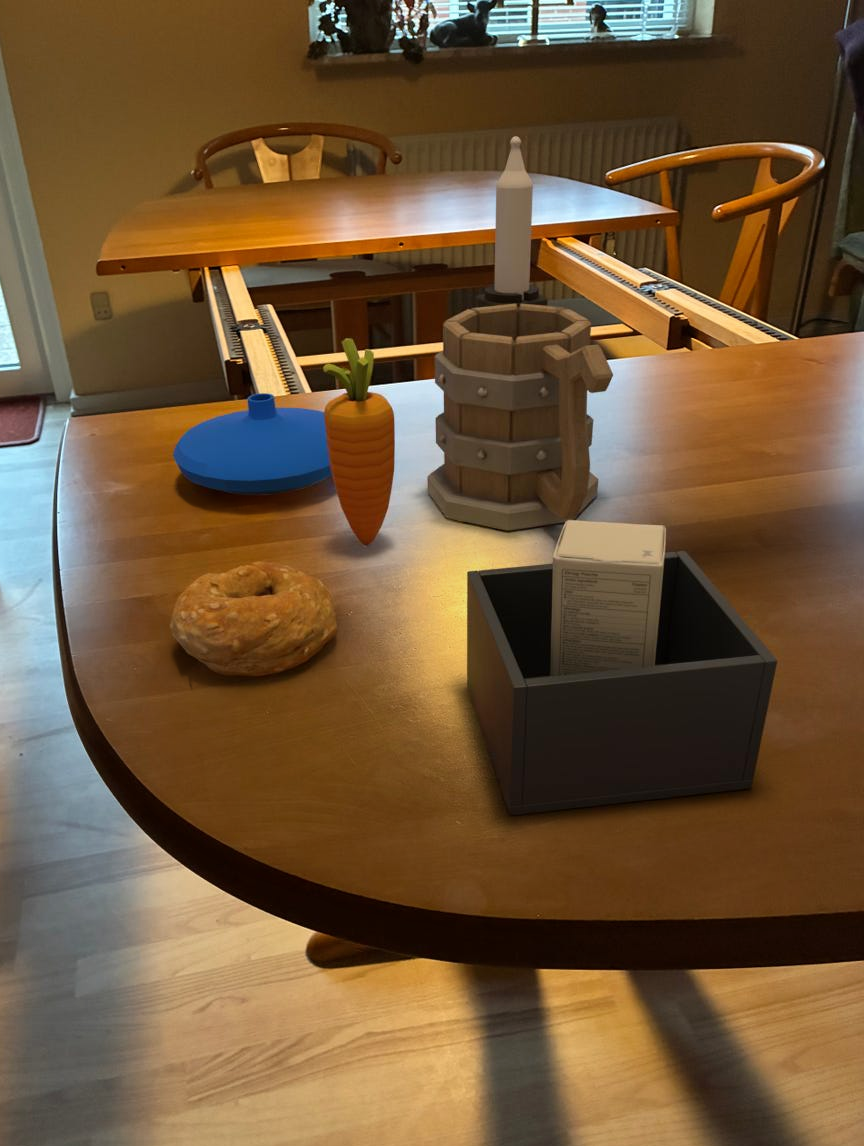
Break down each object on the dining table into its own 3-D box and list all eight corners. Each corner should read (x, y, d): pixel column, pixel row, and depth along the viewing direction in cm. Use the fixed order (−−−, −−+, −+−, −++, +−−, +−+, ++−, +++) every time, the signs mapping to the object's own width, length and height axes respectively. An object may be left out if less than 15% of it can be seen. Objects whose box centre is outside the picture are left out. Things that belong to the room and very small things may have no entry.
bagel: (376, 632, 62) (373, 566, 60) (239, 708, 56) (228, 637, 54) (278, 583, 69) (271, 521, 66) (144, 646, 62) (130, 580, 60)
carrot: (394, 562, 71) (384, 353, 63) (327, 559, 71) (309, 353, 64) (404, 532, 75) (397, 333, 67) (341, 529, 76) (326, 332, 68)
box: (650, 709, 53) (674, 524, 47) (645, 757, 50) (669, 565, 44) (554, 696, 55) (564, 515, 49) (541, 743, 51) (552, 554, 45)
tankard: (415, 477, 84) (410, 296, 76) (553, 458, 86) (562, 280, 78) (495, 584, 67) (499, 367, 59) (663, 556, 70) (689, 344, 62)
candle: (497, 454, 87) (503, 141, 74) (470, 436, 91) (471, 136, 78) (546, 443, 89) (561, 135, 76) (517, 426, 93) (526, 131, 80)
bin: (670, 665, 58) (685, 550, 54) (752, 788, 48) (778, 660, 44) (466, 686, 57) (466, 571, 53) (509, 816, 48) (514, 687, 44)
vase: (181, 525, 77) (166, 440, 74) (175, 455, 91) (163, 379, 87) (376, 501, 80) (372, 417, 76) (343, 436, 93) (338, 361, 89)
